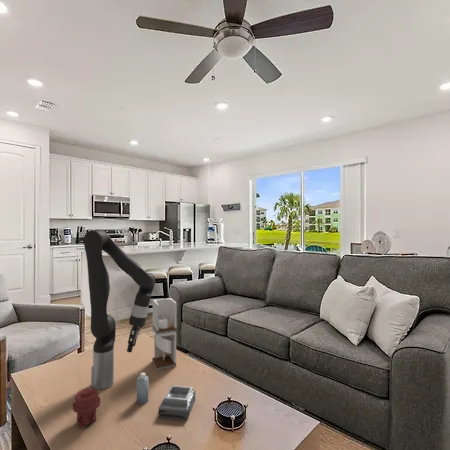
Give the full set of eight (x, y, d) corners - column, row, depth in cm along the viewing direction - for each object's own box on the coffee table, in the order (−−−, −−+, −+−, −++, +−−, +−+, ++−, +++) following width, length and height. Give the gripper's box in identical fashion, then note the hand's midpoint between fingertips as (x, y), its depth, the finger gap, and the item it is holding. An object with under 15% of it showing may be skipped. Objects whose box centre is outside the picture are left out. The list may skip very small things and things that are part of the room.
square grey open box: (158, 418, 124) (158, 403, 124) (169, 397, 138) (169, 384, 138) (187, 420, 122) (187, 406, 122) (195, 399, 137) (195, 386, 137)
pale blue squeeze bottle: (134, 403, 134) (134, 376, 133) (139, 397, 139) (139, 370, 138) (145, 404, 133) (145, 377, 133) (150, 397, 138) (150, 371, 138)
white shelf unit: (152, 361, 174) (152, 299, 173) (170, 357, 178) (171, 298, 178) (156, 370, 163) (157, 305, 163) (176, 366, 168) (176, 302, 167)
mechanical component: (105, 416, 125) (90, 432, 115) (83, 412, 127) (66, 428, 117) (105, 386, 125) (90, 400, 115) (83, 383, 127) (66, 396, 117)
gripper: (134, 309, 153) (126, 342, 152) (128, 316, 139) (119, 352, 137) (148, 312, 154) (141, 345, 152) (144, 319, 139) (136, 355, 138)
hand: (130, 348), depth 145 cm, fingers open, 8 cm apart
